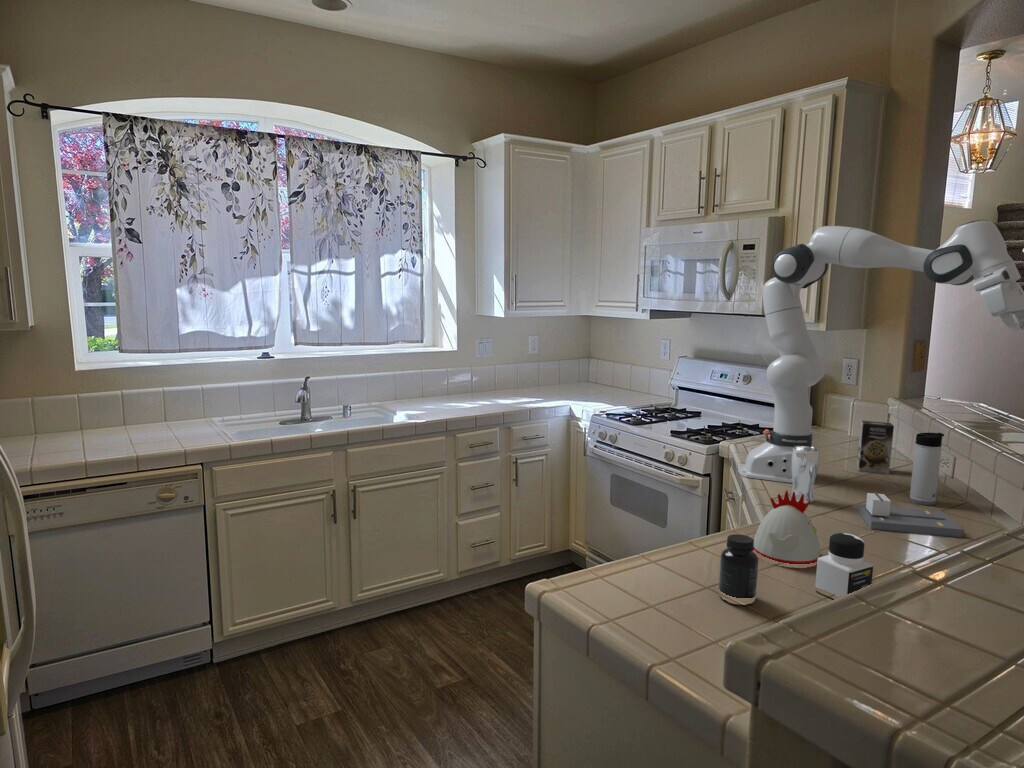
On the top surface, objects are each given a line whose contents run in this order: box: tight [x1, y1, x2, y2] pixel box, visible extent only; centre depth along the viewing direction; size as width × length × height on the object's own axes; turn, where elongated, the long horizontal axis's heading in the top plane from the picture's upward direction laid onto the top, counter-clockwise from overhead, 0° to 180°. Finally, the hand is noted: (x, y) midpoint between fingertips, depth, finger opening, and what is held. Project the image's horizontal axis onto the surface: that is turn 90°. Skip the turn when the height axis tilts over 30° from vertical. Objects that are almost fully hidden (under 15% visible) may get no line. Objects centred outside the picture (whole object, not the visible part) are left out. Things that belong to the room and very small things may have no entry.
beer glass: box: [789, 446, 820, 504], centre depth 188 cm, size 7×7×15 cm
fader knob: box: [865, 492, 892, 516], centre depth 172 cm, size 4×6×4 cm, turn 165°
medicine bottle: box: [814, 532, 874, 597], centre depth 129 cm, size 7×7×12 cm
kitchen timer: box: [753, 490, 821, 564], centre depth 148 cm, size 14×14×15 cm
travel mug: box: [909, 432, 945, 506], centre depth 187 cm, size 6×7×20 cm
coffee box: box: [856, 420, 895, 475], centre depth 220 cm, size 9×6×16 cm
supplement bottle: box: [718, 533, 759, 598], centre depth 128 cm, size 7×7×12 cm
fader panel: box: [856, 503, 963, 538], centre depth 171 cm, size 20×14×2 cm
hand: (1020, 330), depth 166 cm, fingers open, 8 cm apart
